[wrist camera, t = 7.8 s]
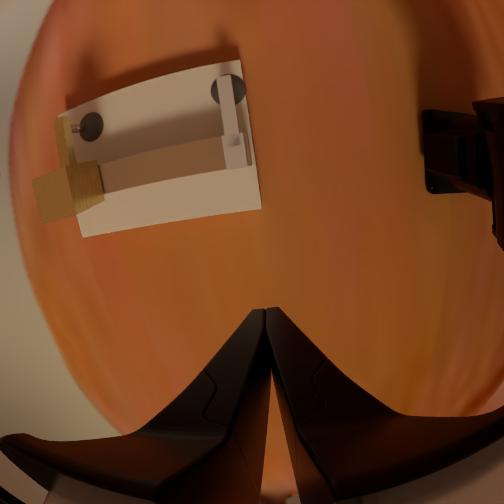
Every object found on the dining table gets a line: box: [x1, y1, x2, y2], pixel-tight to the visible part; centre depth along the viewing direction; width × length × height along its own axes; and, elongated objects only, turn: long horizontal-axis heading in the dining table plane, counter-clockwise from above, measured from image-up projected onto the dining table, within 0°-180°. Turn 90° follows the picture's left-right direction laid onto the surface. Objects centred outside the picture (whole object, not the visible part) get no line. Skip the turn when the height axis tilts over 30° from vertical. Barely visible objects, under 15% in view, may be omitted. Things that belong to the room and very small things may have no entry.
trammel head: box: [32, 116, 105, 224], centre depth 15 cm, size 3×6×5 cm, turn 8°
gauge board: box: [58, 60, 262, 238], centre depth 17 cm, size 14×10×3 cm
